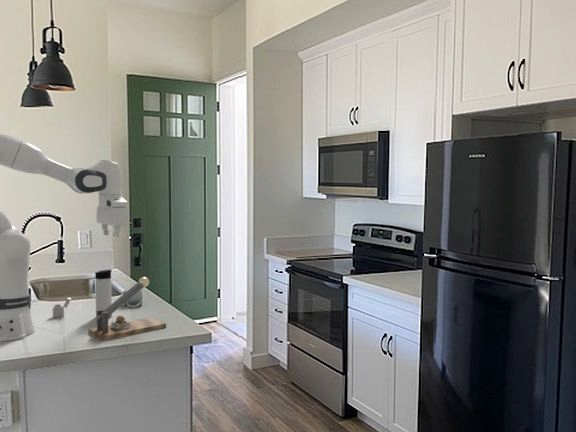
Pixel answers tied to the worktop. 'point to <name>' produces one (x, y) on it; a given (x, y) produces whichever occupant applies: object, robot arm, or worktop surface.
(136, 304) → the ceramic mug
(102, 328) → the nutcracker base
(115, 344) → the worktop surface
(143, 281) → the lever
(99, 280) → the travel mug
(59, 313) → the lighter
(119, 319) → the walnut
